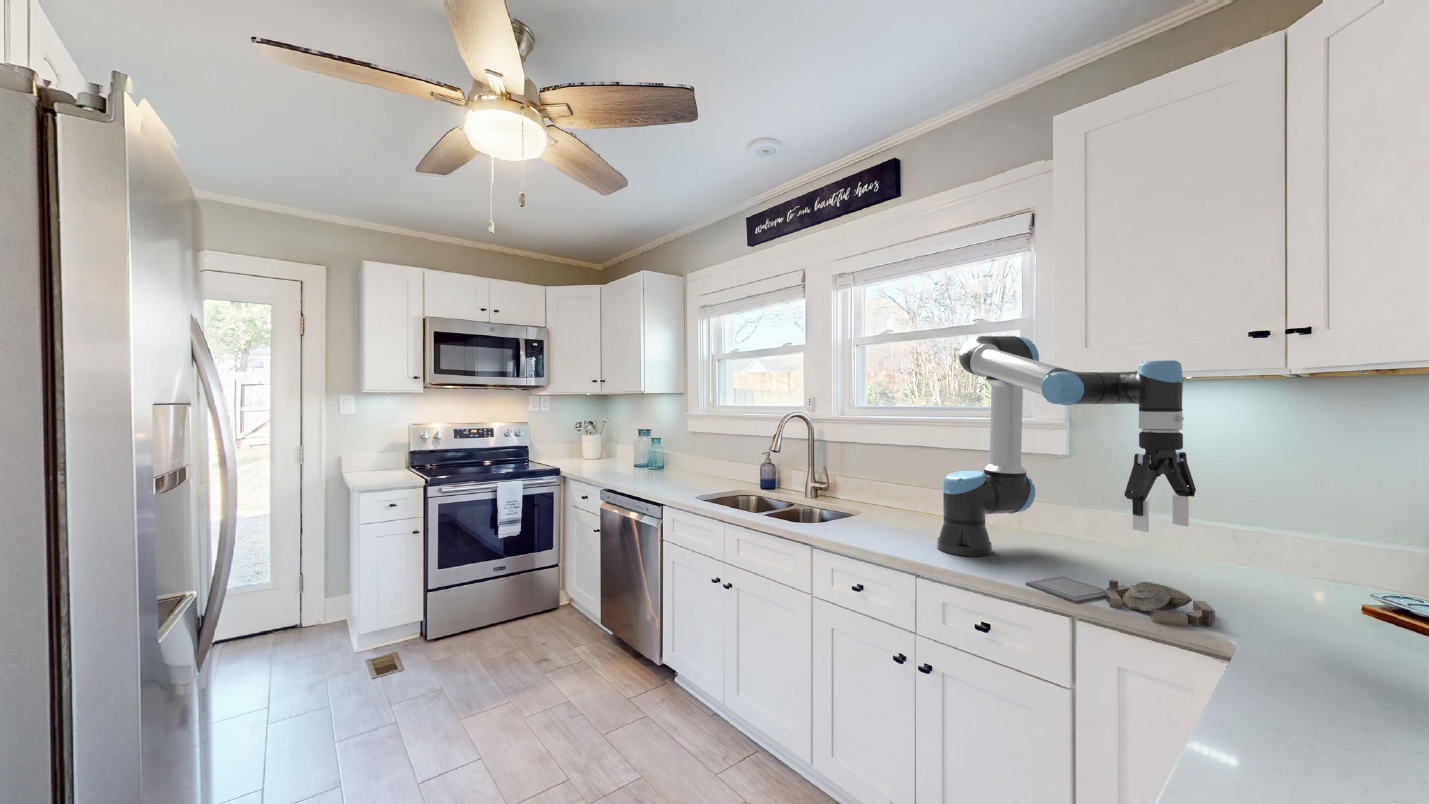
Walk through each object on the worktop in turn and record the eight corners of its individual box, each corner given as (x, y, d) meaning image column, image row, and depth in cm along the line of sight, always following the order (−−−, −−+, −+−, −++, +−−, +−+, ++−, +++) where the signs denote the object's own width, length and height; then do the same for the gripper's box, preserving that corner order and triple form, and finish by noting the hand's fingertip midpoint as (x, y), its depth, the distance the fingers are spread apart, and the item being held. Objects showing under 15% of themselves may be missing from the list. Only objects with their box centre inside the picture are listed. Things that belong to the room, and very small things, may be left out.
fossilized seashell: (1121, 588, 129) (1134, 564, 126) (1175, 612, 124) (1190, 587, 121) (1121, 612, 120) (1136, 586, 118) (1180, 638, 115) (1196, 612, 113)
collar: (1086, 598, 127) (1086, 584, 127) (1134, 588, 133) (1134, 575, 133) (1183, 632, 109) (1183, 616, 109) (1235, 620, 114) (1236, 605, 114)
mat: (1025, 584, 137) (1025, 581, 136) (1063, 578, 141) (1063, 575, 141) (1075, 603, 124) (1075, 600, 124) (1115, 595, 129) (1115, 592, 129)
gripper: (1141, 433, 113) (1142, 537, 113) (1215, 430, 122) (1216, 526, 122) (1104, 431, 120) (1105, 529, 120) (1176, 428, 129) (1177, 519, 129)
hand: (1161, 527), depth 121 cm, fingers open, 13 cm apart
